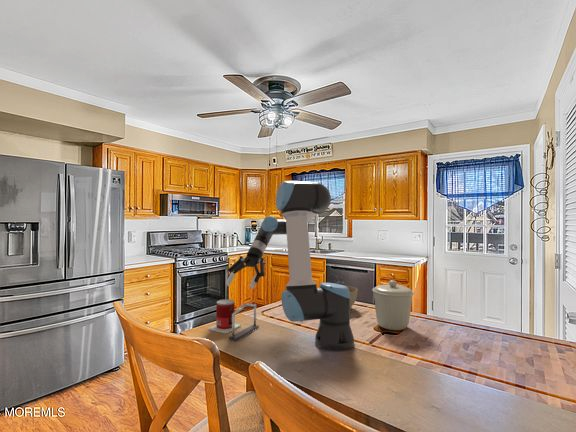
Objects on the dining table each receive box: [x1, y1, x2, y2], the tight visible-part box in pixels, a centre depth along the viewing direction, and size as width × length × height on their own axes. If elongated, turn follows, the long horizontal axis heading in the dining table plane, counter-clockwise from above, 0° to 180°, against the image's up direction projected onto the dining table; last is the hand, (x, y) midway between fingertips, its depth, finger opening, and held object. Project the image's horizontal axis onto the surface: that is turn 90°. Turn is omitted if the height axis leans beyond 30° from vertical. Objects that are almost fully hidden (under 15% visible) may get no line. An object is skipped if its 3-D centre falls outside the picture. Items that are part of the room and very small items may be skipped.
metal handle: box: [228, 302, 260, 343], centre depth 137 cm, size 3×18×13 cm, turn 153°
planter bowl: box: [345, 285, 358, 311], centre depth 175 cm, size 16×16×11 cm
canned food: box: [215, 298, 236, 329], centre depth 143 cm, size 8×8×11 cm
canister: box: [371, 279, 415, 331], centre depth 147 cm, size 18×18×21 cm
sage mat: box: [208, 323, 242, 334], centre depth 143 cm, size 10×10×1 cm
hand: (239, 286), depth 152 cm, fingers open, 13 cm apart
